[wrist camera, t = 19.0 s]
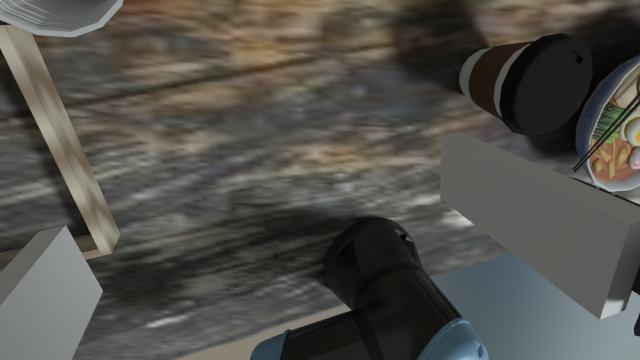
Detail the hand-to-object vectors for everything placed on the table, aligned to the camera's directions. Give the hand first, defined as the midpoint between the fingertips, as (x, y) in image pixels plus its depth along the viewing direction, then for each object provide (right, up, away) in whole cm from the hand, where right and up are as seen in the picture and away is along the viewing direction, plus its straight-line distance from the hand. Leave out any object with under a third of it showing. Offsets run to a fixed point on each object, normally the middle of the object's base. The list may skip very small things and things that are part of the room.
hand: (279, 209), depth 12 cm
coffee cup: (+23, +16, +34) cm, 44 cm away
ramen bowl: (+48, +13, +43) cm, 66 cm away
